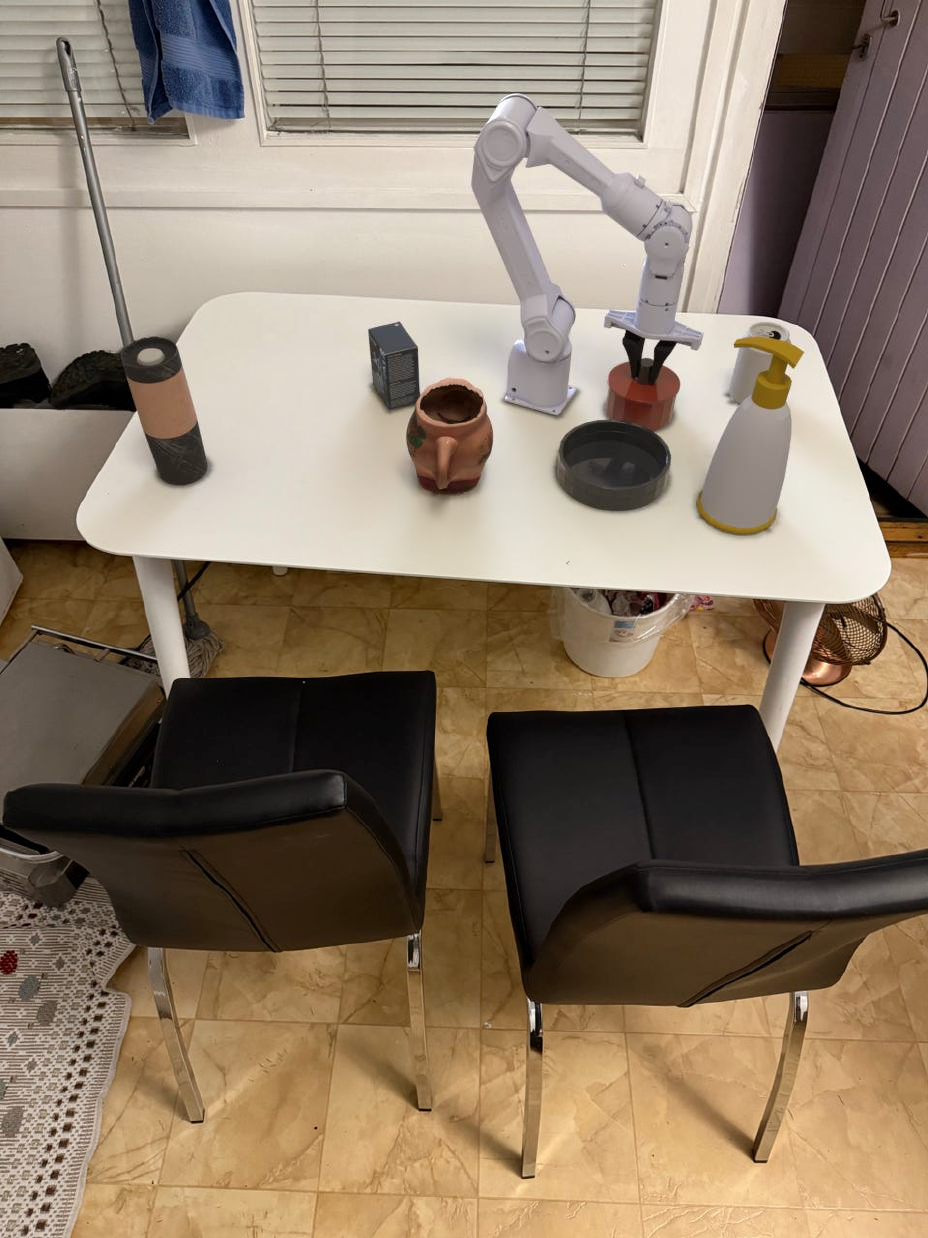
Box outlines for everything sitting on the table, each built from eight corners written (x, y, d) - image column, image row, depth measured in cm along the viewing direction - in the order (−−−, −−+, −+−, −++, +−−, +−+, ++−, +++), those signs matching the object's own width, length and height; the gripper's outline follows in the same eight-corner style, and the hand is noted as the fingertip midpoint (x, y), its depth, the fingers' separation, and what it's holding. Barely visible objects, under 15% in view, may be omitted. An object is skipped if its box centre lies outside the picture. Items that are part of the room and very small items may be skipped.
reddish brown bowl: (596, 421, 145) (600, 392, 141) (619, 386, 151) (623, 358, 147) (659, 439, 142) (665, 410, 137) (679, 403, 148) (686, 374, 144)
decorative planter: (493, 529, 128) (496, 450, 118) (406, 530, 128) (401, 450, 117) (489, 441, 141) (492, 362, 131) (410, 441, 141) (406, 362, 131)
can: (774, 413, 146) (795, 346, 137) (727, 407, 147) (744, 341, 138) (773, 386, 151) (793, 320, 142) (727, 381, 152) (744, 315, 143)
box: (372, 385, 151) (367, 327, 143) (404, 377, 152) (401, 320, 145) (388, 411, 146) (383, 353, 138) (421, 403, 148) (418, 345, 140)
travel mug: (219, 459, 138) (189, 342, 123) (193, 491, 133) (158, 372, 118) (174, 449, 140) (139, 331, 125) (147, 480, 135) (107, 361, 120)
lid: (596, 396, 141) (599, 371, 138) (621, 359, 148) (624, 335, 144) (666, 415, 138) (671, 390, 134) (688, 377, 144) (693, 352, 141)
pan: (539, 490, 133) (541, 468, 130) (580, 429, 143) (583, 408, 140) (645, 524, 129) (649, 502, 126) (680, 458, 138) (685, 437, 135)
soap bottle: (709, 474, 136) (751, 313, 116) (786, 500, 132) (842, 338, 112) (682, 518, 129) (721, 355, 110) (761, 547, 126) (816, 384, 106)
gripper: (715, 294, 131) (697, 376, 142) (620, 272, 136) (609, 353, 146) (701, 318, 127) (683, 400, 137) (603, 294, 132) (593, 375, 142)
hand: (644, 377), depth 141 cm, fingers closed on lid, 2 cm apart
